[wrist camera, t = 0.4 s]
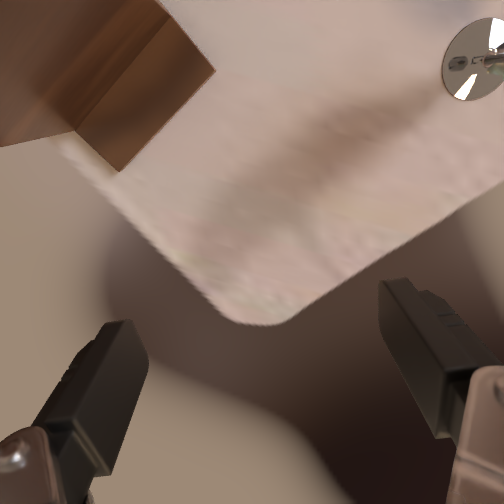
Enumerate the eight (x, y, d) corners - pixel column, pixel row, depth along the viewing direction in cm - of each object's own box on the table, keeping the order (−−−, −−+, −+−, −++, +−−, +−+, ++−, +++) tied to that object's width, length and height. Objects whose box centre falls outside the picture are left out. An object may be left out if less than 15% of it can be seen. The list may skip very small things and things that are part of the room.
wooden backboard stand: (-34, 22, 31) (-697, -141, 9) (57, -125, 26) (-794, -1088, 5) (122, 170, 37) (-54, 279, 15) (216, 70, 33) (154, 30, 11)
